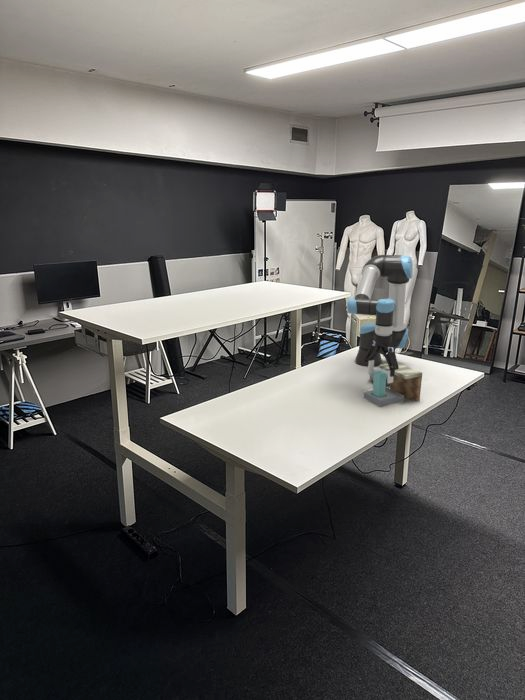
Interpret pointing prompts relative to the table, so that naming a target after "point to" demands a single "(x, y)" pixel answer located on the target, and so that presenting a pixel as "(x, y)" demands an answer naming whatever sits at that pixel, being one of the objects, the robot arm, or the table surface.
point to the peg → (379, 384)
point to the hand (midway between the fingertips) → (380, 378)
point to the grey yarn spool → (379, 370)
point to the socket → (388, 399)
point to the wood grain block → (406, 381)
